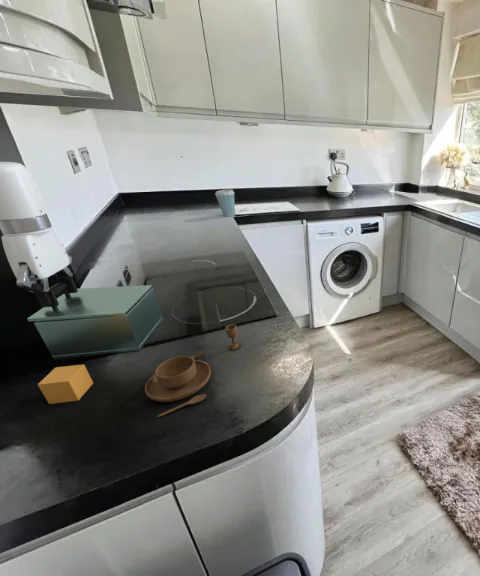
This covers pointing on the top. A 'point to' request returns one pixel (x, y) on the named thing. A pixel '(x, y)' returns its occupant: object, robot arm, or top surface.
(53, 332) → the box
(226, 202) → the disposable coffee cup
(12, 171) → the robot arm
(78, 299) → the freezer lid
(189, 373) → the place setting
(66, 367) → the block
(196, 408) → the top surface
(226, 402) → the top surface
